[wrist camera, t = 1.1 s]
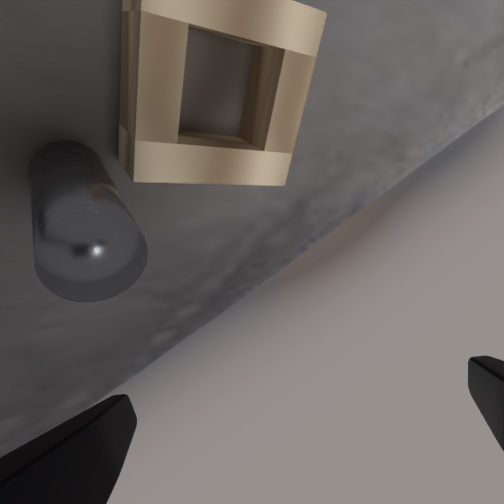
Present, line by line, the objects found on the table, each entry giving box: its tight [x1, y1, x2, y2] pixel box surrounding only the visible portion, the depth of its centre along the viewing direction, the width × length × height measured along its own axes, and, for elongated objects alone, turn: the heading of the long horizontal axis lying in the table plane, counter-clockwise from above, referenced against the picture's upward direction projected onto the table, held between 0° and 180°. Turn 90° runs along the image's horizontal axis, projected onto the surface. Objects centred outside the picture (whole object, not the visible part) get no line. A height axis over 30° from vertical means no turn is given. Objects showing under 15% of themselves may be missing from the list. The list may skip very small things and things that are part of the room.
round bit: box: [29, 141, 147, 302], centre depth 17 cm, size 4×4×10 cm
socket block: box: [118, 0, 327, 186], centre depth 21 cm, size 10×10×4 cm
